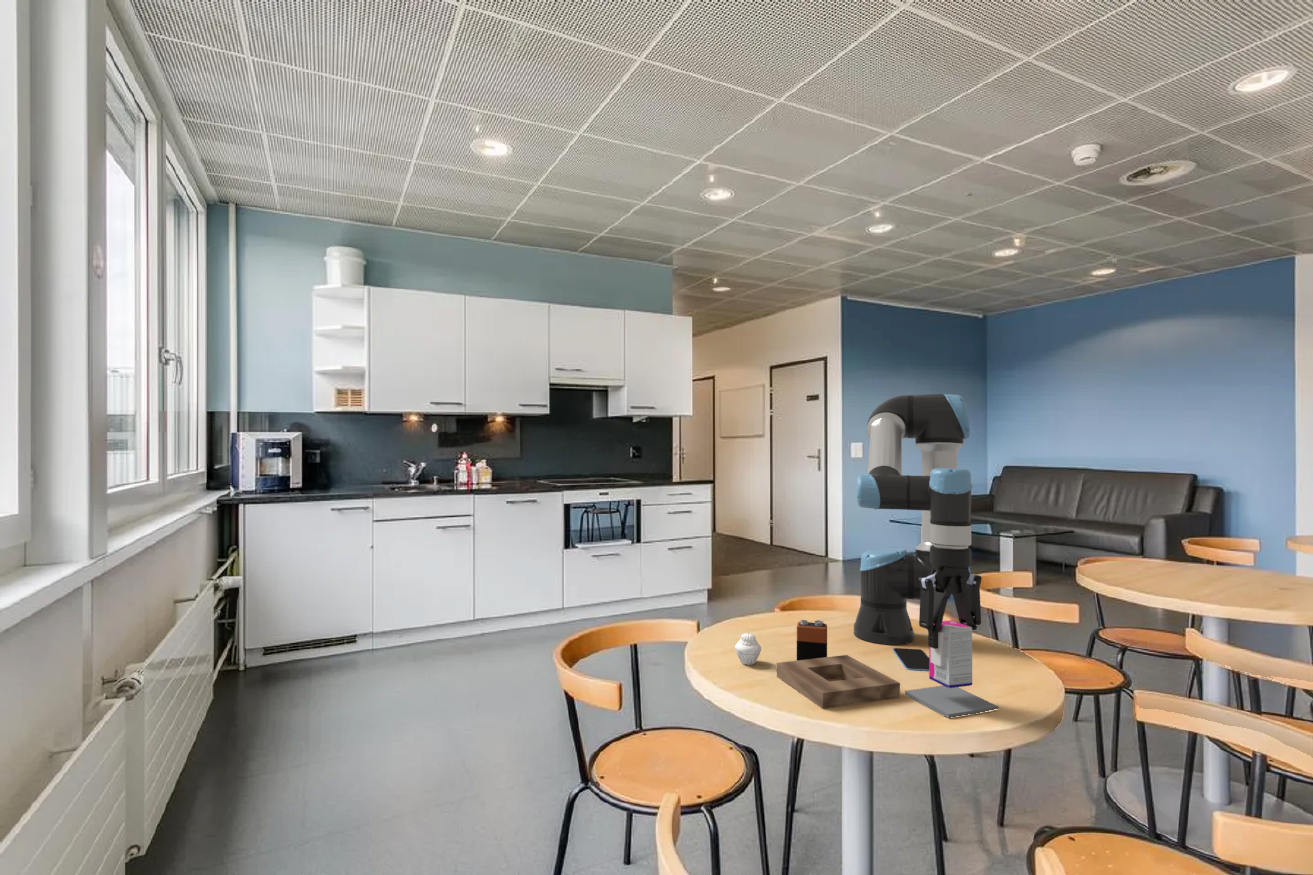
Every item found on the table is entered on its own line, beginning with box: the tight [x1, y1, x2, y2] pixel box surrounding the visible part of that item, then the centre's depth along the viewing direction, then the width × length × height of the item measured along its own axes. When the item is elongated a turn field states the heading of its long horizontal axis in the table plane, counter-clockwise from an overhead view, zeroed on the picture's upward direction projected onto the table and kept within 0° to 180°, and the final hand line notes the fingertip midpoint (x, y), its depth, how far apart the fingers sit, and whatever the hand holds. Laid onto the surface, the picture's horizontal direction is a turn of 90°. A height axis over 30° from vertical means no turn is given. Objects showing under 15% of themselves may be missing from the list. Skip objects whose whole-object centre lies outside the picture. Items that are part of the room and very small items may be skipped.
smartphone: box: [892, 647, 929, 672], centre depth 152 cm, size 7×1×15 cm
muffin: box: [734, 632, 762, 666], centre depth 150 cm, size 6×6×7 cm
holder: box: [776, 654, 901, 710], centre depth 135 cm, size 18×18×3 cm
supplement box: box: [928, 620, 973, 688], centre depth 127 cm, size 6×6×12 cm
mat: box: [904, 685, 999, 719], centre depth 127 cm, size 12×12×1 cm
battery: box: [796, 619, 828, 661], centre depth 149 cm, size 4×7×10 cm, turn 74°
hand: (950, 662), depth 127 cm, fingers closed on supplement box, 6 cm apart
